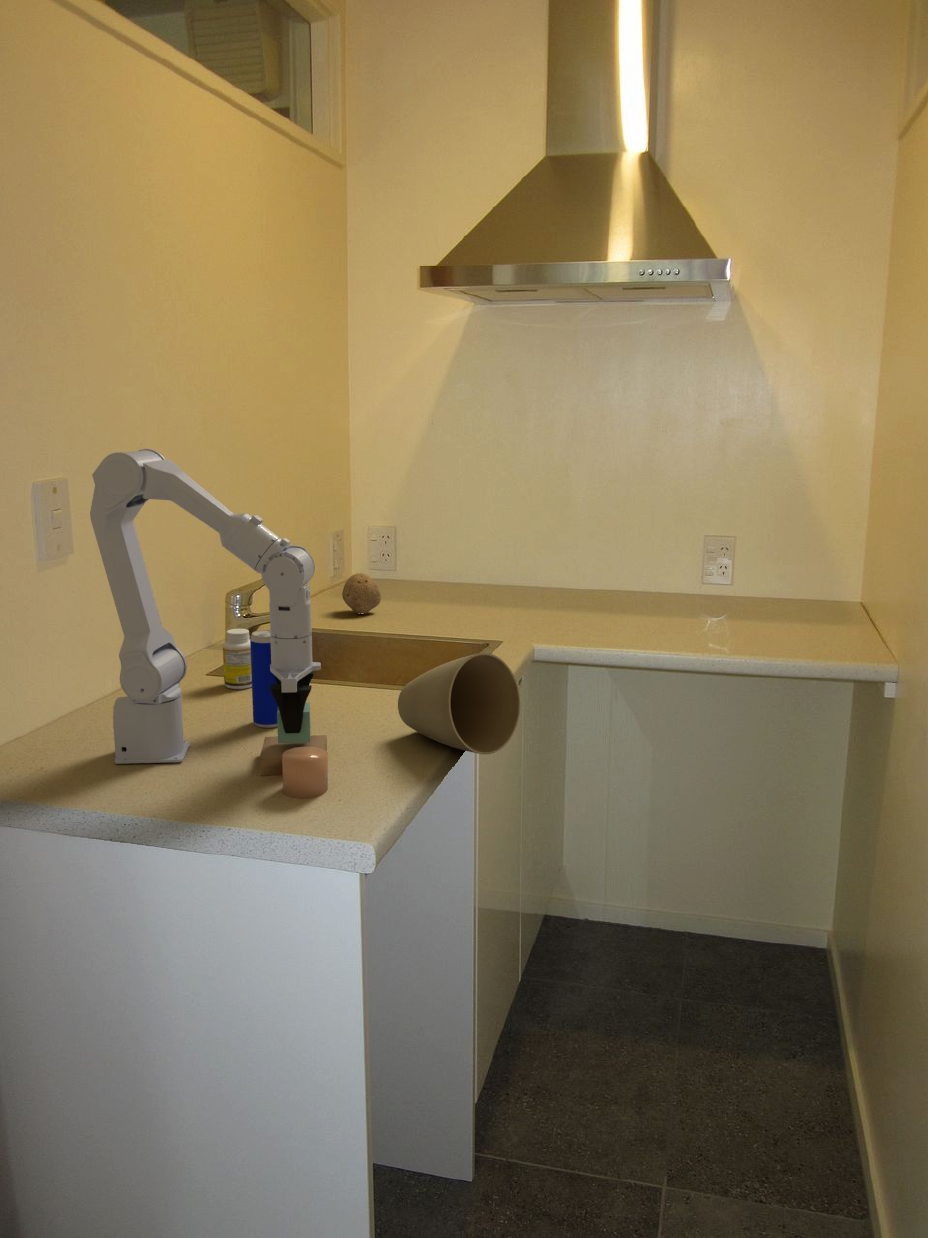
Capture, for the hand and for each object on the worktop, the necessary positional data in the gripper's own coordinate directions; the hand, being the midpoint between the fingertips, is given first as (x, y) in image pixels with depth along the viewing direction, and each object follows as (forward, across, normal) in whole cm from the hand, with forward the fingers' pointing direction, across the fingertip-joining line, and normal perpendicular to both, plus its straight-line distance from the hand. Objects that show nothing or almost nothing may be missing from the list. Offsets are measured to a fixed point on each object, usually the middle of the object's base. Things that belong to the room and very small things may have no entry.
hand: (293, 726), depth 144 cm
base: (+6, 0, 0) cm, 6 cm away
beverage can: (+6, +18, +5) cm, 20 cm away
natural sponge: (+6, +98, -10) cm, 99 cm away
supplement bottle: (+6, +40, +12) cm, 42 cm away
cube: (+2, 0, 0) cm, 2 cm away
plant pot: (+2, +14, -18) cm, 23 cm away
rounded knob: (+6, -10, -2) cm, 12 cm away
